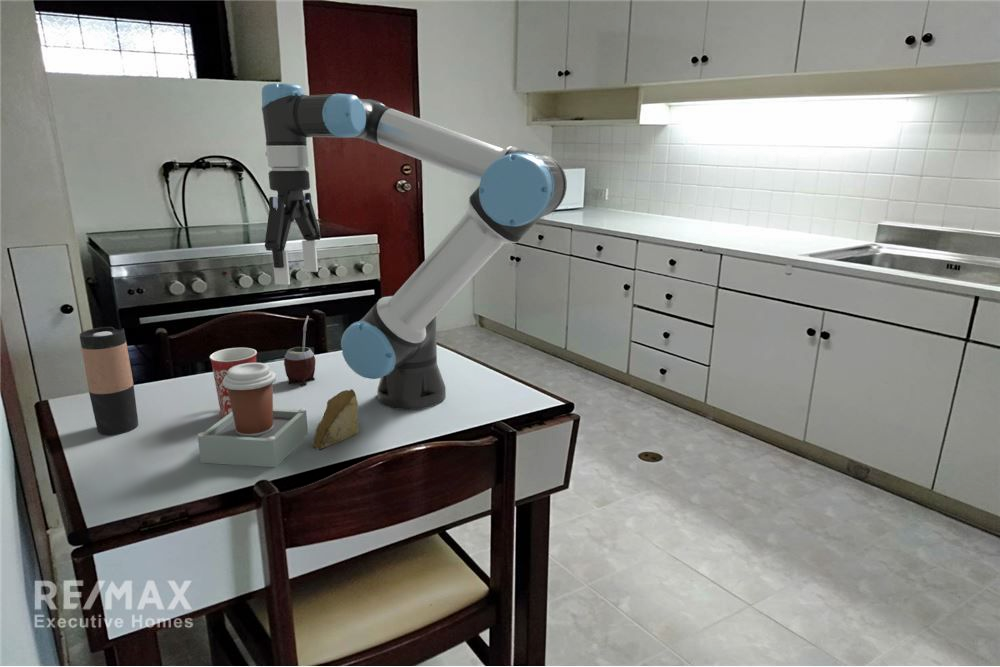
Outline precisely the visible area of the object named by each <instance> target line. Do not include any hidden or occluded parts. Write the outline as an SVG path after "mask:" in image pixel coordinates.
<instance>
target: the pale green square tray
mask: <svg viewBox="0 0 1000 667" xmlns="http://www.w3.org/2000/svg"><path fill="white" fill-rule="evenodd" d="M307 415H308V414H307V409H306V408H304V407H301V408H300V409H286V408H285V409H284V408H280V409H279V408H273V430H272V431H271V432H269V433H267V434H265V435H261V436H257V437H242V436H239V435H238V434H237V433H236V427H235V422H234V417H233V413H232V412H231V413H229V414H228V415H227V416H225V417H224V418H221V419H220V420H218V421H217V422H216V423H214V424H213V425H211V427H209V428H207V429H206V430H205V431H201V432H199V433H197V443H198V448H199V449H198V450H199V457H200V463H203V464H217V465H234V466H248V467H249V466H250V467H263V468H277V466H279V465H280V464H281V463H282V461H283V460H285V458H287V456H289V454H291V452H293V450H294V449H295V448H296V447H297V446H298V445H299V444H300V443H301V442H302V441H303V440H304V439H305V438H306V437H307V436H308V435H309V428H308V416H307Z"/></svg>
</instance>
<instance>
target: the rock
mask: <svg viewBox="0 0 1000 667" xmlns="http://www.w3.org/2000/svg"><path fill="white" fill-rule="evenodd" d="M358 404H359V403H358V399H357V395H356V392H355V391H354V389H353V388H352V389H349V390H348V389H346V390H342V391H340V392H338V393H337V394H336V395H334V396H333V397H332V398H330V399H328V400H327V402H326V408H325V410H324V413H323V416H322V419H321V421H320V422H318V423H319V424H318V425H317V427H316V429H315V430H316V431H315V435H314V437H313V438H312V439H313V440H312V444H311V445H312V447H314V448H316V449H318V450H321V449H325V448H326V447H329V446H333V445H335V444H336V443H338V442H341V441H344V440H346V439H349V438H350V437H352V436H355V435H357V434H359V433H360V431H359V430H360V429H359V421H358Z"/></svg>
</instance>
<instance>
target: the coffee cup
mask: <svg viewBox="0 0 1000 667" xmlns="http://www.w3.org/2000/svg"><path fill="white" fill-rule="evenodd" d="M227 373H228V374H227V376H226V377H224V379H223V381H222V384H223V386H224V387H225V388H227V390H228V394H229V399H230V404H231V408H232V413H233V417H234V422H235V427H236V433H237V434H238V435H239V436H242V437H257V436H261V435H265V434H267V433H269V432H271V431H272V430H273V409H274V404H273V403H274V401H273V400H274V398H273V397H274V396H273V395H274V394H273V393H274V392H273V390H274V389H273V387H274V384H273V383H275V382H276V380H277V374H276V373H275V372H274V371H272V370H270V367H269V365H268V364H266V363H264V362H263V363H262V362H256V363H245V364H240V365H236V366H233V367H232V368H230V369H229V370H228V372H227Z"/></svg>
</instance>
